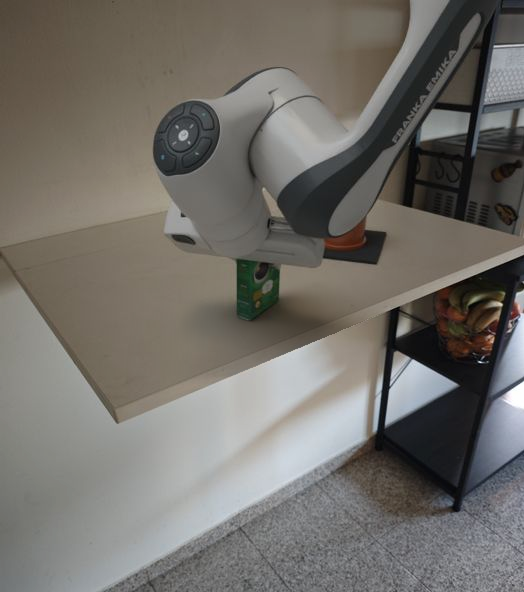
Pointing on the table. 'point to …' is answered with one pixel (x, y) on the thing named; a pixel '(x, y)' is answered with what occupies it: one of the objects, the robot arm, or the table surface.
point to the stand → (349, 239)
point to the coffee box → (255, 288)
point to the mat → (361, 249)
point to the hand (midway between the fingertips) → (259, 262)
